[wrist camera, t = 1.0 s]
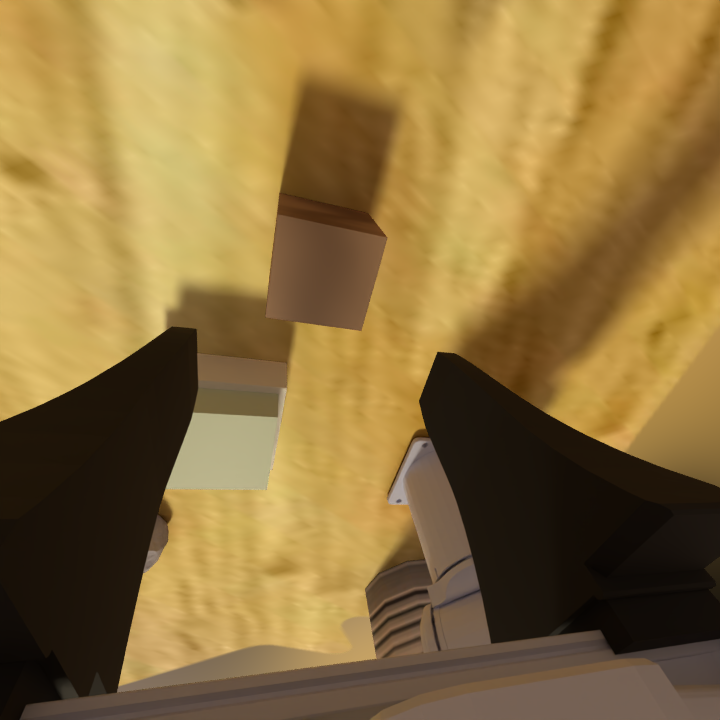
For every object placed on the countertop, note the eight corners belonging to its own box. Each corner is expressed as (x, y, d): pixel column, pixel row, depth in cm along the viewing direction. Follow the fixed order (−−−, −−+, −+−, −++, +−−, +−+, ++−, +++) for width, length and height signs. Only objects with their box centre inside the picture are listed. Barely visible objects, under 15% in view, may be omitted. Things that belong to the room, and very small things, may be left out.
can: (457, 547, 40) (512, 688, 31) (457, 592, 47) (503, 719, 37) (356, 573, 40) (379, 724, 30) (371, 615, 46) (393, 750, 37)
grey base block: (286, 359, 24) (287, 388, 21) (273, 437, 27) (272, 469, 25) (166, 345, 22) (151, 375, 19) (169, 431, 25) (157, 466, 23)
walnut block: (367, 212, 19) (387, 237, 15) (348, 292, 21) (361, 330, 18) (279, 192, 18) (277, 214, 14) (269, 279, 20) (265, 317, 16)
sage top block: (278, 393, 21) (278, 417, 20) (268, 464, 24) (267, 489, 23) (164, 385, 20) (153, 410, 18) (168, 461, 23) (159, 488, 21)
